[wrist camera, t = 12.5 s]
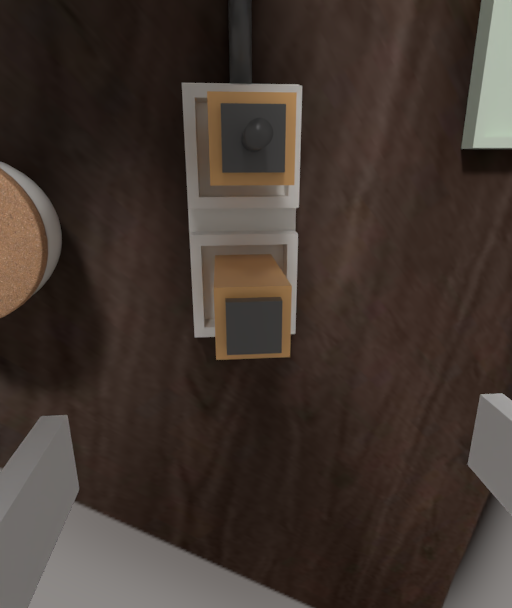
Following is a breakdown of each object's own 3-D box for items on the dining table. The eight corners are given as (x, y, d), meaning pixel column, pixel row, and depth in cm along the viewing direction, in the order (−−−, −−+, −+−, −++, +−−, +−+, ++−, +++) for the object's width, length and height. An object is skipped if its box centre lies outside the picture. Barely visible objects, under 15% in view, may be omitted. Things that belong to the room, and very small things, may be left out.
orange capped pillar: (216, 308, 34) (216, 365, 24) (214, 255, 33) (213, 291, 23) (270, 307, 35) (292, 362, 24) (270, 254, 33) (294, 289, 23)
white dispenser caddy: (290, 326, 36) (336, 421, 22) (195, 329, 36) (180, 429, 22) (298, -8, 29) (375, -180, 15) (177, -12, 28) (138, -196, 14)
